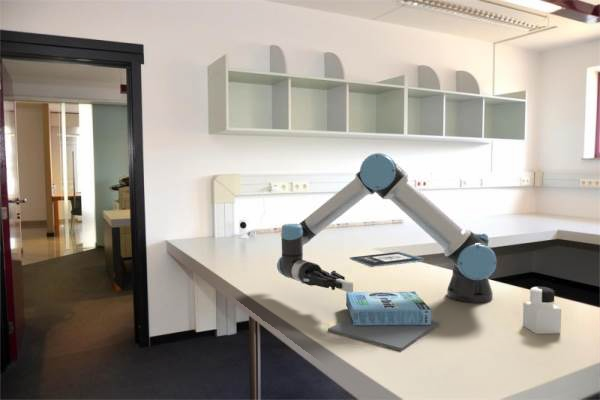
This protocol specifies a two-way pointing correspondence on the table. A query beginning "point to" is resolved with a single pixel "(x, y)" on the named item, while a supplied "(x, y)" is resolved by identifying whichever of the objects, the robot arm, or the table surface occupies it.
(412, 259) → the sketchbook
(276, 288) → the table surface
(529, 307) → the medicine bottle
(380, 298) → the gum box
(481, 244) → the robot arm
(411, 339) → the mat
